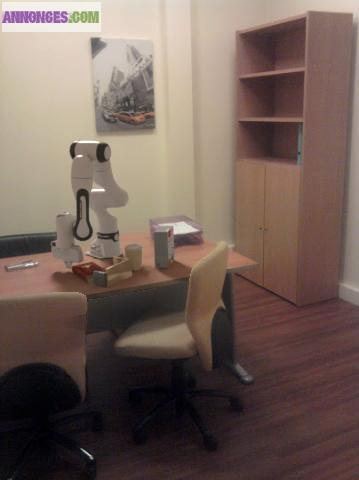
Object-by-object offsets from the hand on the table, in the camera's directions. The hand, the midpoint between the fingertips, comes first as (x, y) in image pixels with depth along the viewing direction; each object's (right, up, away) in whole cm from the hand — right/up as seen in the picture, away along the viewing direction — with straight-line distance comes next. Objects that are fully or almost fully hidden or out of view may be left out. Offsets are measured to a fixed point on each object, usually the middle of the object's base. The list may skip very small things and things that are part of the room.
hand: (68, 268), depth 246 cm
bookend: (+21, -7, -22) cm, 31 cm away
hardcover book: (+13, -4, -7) cm, 15 cm away
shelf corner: (+26, -5, -15) cm, 30 cm away
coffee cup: (+35, 0, +2) cm, 35 cm away
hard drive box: (+51, +2, +6) cm, 51 cm away
